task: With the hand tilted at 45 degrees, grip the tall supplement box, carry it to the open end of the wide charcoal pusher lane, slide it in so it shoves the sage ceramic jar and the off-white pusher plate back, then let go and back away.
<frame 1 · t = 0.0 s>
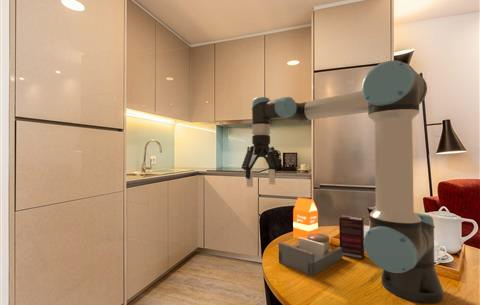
hand: (261, 185, 102), 28 cm above the table, tool pointing down, fingers open, 13 cm apart
pusher plate: (311, 250, 92), point 5 cm above the table, slide at 0.0 cm
supplement box: (352, 258, 97), on the table
orange juice: (305, 240, 117), on the table
pusher lane: (311, 262, 92), on the table
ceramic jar: (318, 256, 95), point 1 cm above the table, touching pusher lane
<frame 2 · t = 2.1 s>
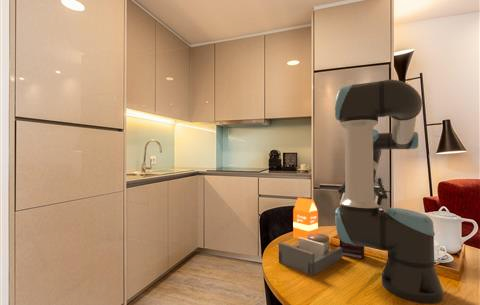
hand: (357, 208, 105), 18 cm above the table, tool tilted 45°, fingers open, 13 cm apart
nothing on the table moved.
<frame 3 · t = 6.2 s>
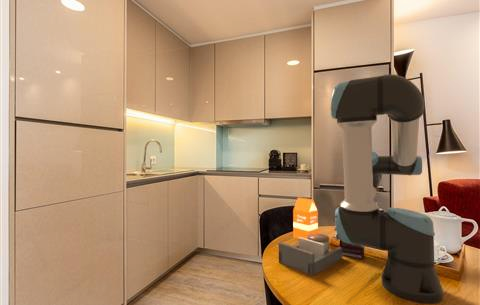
hand: (348, 241, 95), 7 cm above the table, tool tilted 45°, fingers closed on supplement box, 9 cm apart
supplement box: (351, 258, 97), on the table, touching gripper
everything else where it was.
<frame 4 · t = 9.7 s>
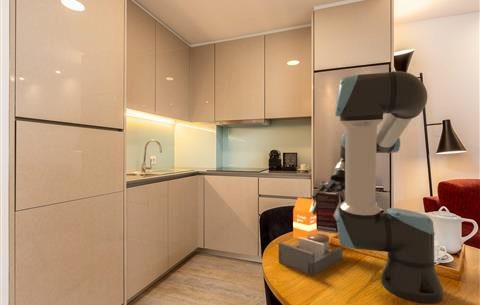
hand: (323, 215, 99), 16 cm above the table, tool tilted 45°, fingers closed on supplement box, 9 cm apart
supplement box: (327, 231, 101), point 9 cm above the table, touching gripper
everything else where it was.
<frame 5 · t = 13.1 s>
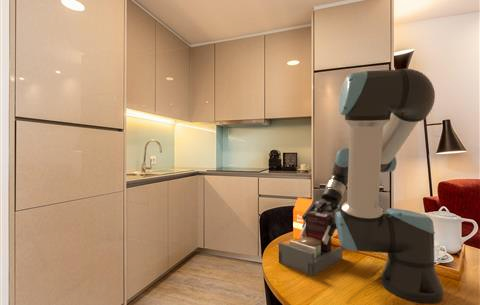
hand: (312, 239, 93), 9 cm above the table, tool tilted 45°, fingers closed on supplement box, 9 cm apart
pusher plate: (302, 254, 88), point 5 cm above the table, slide at 5.7 cm, touching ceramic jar
supplement box: (318, 254, 96), point 2 cm above the table, touching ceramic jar, gripper
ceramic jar: (309, 260, 91), point 1 cm above the table, touching pusher lane, pusher plate, supplement box
everything else where it was.
when the fingers open (9 cm above the table, at t = 13.5 s): supplement box stays where it is, resting on pusher lane.
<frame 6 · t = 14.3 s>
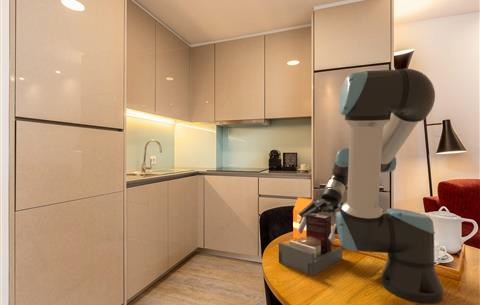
hand: (314, 236, 93), 9 cm above the table, tool tilted 45°, fingers open, 13 cm apart
pusher plate: (302, 254, 88), point 5 cm above the table, slide at 5.7 cm
supplement box: (318, 256, 96), point 1 cm above the table, touching pusher lane
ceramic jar: (309, 261, 91), point 1 cm above the table, touching pusher lane
everything else where it was.
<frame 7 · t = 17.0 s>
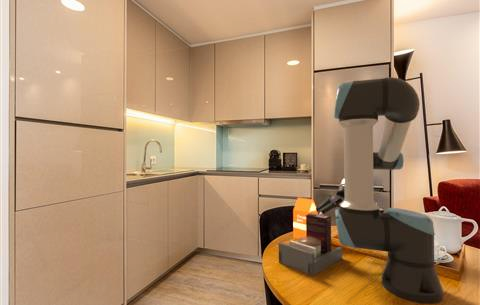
hand: (331, 229, 102), 10 cm above the table, tool tilted 45°, fingers open, 13 cm apart
nothing on the table moved.
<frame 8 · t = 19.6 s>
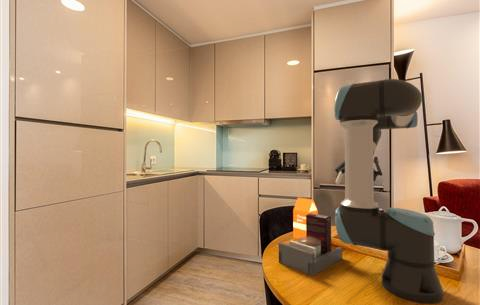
hand: (351, 185, 107), 28 cm above the table, tool tilted 45°, fingers open, 13 cm apart
nothing on the table moved.
at the end: supplement box 1.2 cm from the target spot on the pusher lane, point 0.8 cm above the pusher lane's base; supplement box tilted 0°; pusher plate slide at 5.7 cm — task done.
